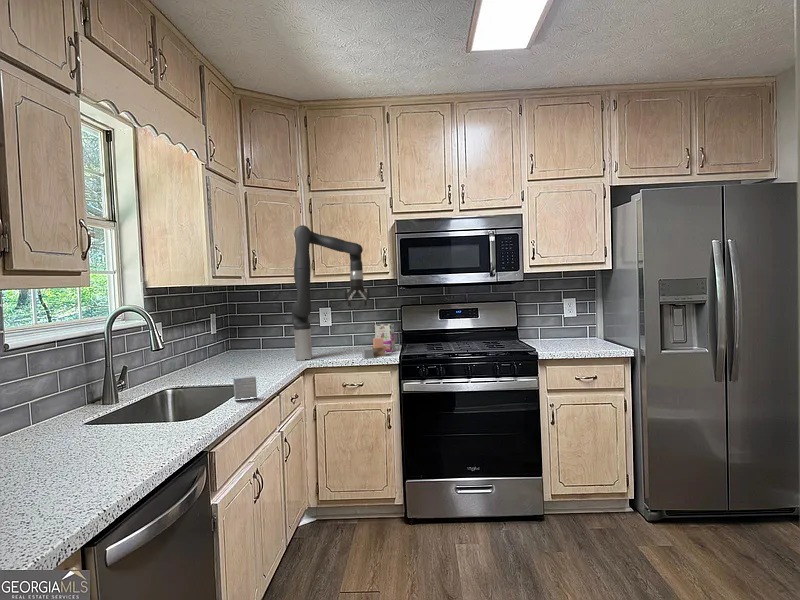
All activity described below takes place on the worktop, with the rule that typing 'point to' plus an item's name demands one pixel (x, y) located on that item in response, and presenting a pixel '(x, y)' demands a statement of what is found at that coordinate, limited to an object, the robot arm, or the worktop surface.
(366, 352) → the slate cube
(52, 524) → the worktop surface
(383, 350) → the walnut block
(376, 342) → the terracotta cube
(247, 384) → the medicine box
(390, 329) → the candy bar box
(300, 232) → the robot arm
